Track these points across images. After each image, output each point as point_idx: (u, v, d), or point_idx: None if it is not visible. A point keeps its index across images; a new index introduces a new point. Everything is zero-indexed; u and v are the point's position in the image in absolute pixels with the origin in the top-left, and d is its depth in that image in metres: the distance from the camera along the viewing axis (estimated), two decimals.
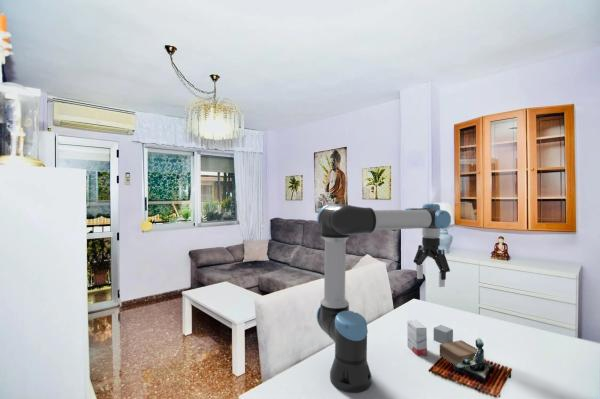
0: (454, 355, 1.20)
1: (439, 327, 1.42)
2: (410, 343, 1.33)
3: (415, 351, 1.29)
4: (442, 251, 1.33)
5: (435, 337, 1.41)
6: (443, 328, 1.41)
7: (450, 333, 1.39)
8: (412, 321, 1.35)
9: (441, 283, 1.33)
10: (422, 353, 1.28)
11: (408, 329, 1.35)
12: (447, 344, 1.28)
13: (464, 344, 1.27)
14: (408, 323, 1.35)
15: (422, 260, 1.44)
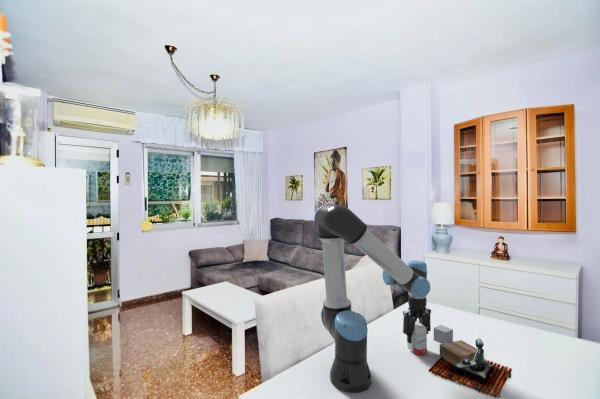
0: (454, 355, 1.20)
1: (439, 327, 1.42)
2: None
3: (415, 351, 1.29)
4: (404, 314, 1.30)
5: (435, 337, 1.41)
6: (443, 328, 1.41)
7: (450, 333, 1.39)
8: None
9: (409, 345, 1.31)
10: (422, 353, 1.28)
11: None
12: (447, 344, 1.28)
13: (464, 344, 1.27)
14: None
15: None
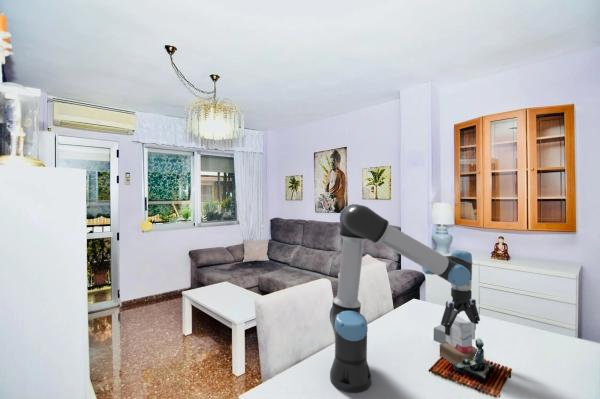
0: (454, 355, 1.20)
1: (439, 327, 1.42)
2: (453, 340, 1.25)
3: (460, 349, 1.21)
4: (448, 304, 1.22)
5: (435, 337, 1.41)
6: (443, 328, 1.41)
7: None
8: None
9: (447, 338, 1.23)
10: (467, 350, 1.20)
11: None
12: (447, 344, 1.28)
13: None
14: None
15: (469, 316, 1.26)
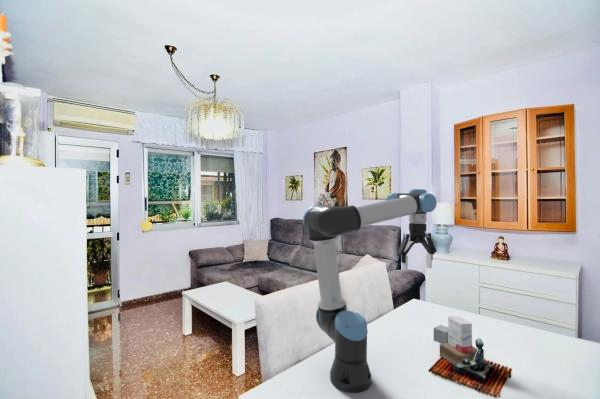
0: (454, 355, 1.20)
1: (439, 327, 1.42)
2: (453, 340, 1.25)
3: (460, 349, 1.21)
4: (405, 235, 1.35)
5: (435, 337, 1.41)
6: (443, 328, 1.41)
7: None
8: (454, 317, 1.27)
9: (403, 266, 1.36)
10: (467, 350, 1.20)
11: (449, 325, 1.27)
12: (447, 344, 1.28)
13: None
14: (450, 319, 1.27)
15: (426, 248, 1.39)
